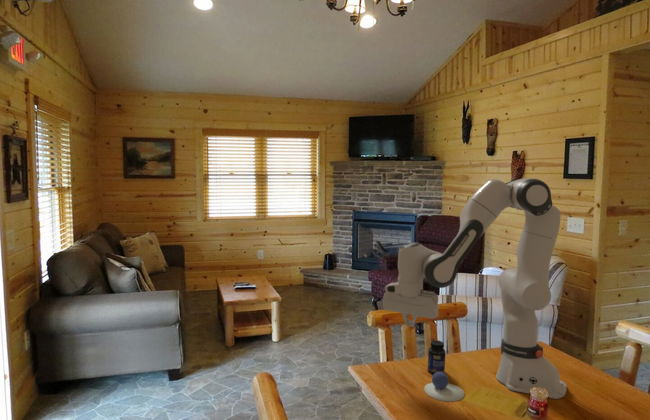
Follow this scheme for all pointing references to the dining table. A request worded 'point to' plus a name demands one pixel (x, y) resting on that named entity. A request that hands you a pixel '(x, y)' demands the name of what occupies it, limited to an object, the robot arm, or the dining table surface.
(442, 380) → the ball
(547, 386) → the robot arm
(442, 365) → the pill bottle
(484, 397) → the dining table surface
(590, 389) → the dining table surface
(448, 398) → the disc
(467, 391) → the dining table surface
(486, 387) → the dining table surface
